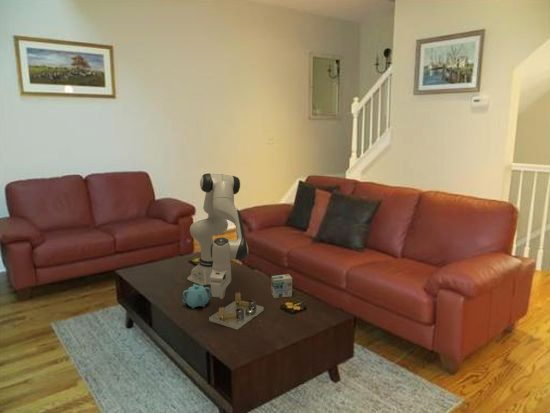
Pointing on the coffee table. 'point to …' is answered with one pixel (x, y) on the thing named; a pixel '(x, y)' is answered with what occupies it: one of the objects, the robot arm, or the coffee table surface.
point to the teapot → (197, 296)
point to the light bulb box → (281, 286)
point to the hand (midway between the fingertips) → (222, 297)
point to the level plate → (236, 321)
